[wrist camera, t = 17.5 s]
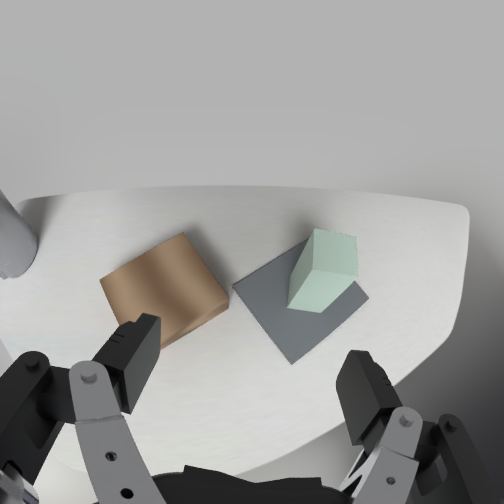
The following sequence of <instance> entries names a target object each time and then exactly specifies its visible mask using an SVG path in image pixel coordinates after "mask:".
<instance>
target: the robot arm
mask: <svg viewBox="0 0 504 504" xmlns="http://www.w3.org/2000/svg"><path fill="white" fill-rule="evenodd" d="M37 245H38V242H37V237H36V235H35V233H34V232H33V231H32V229H31V228H30V227H29V225H27V223H26V222H25V221H24V220H23V219H22V217H21V216H20V215H19V214H18V212H17V211H16V210H15V209H14V207H13V206H12V205H11V203H10V202H9V201H8V199H7V198H6V197H5V195H4V194H3V193H2V192H1V190H0V277H1V278H3V279H6V278H7V277H10V278H15V277H18V276H20V275H21V274H23V273H24V272H25V271H26V270H27V269H28V267H29V266H30V265H31V263H32V261H33V259H34V257H35V255H36V251H37ZM160 348H161V317H159V316H155V315H151V314H147V313H142V314H141V315H140V317H139V318H138V319H137V320H136V322H132V321H128V322H126V323H124V324H122V325H120V326H119V327H118V328H117V329H116V331H115V332H114V334H112V335H111V337H110V338H109V340H107V342H106V343H105V344H104V345H103V346H102V348H101V349H100V350H99V351H98V353H97V354H96V355H95V356H94V358H93V359H92V360H91V361H81V362H78V363H76V364H75V365H73V366H72V367H71V369H67V368H61V367H55V366H50V362H49V359H48V357H47V356H46V355H45V354H43V353H41V352H38V351H29V352H26V353H23V354H22V355H20V356H19V357H18V358H17V360H16V361H15V362H14V363H13V364H12V365H11V366H10V367H9V368H8V369H7V371H6V372H5V373H4V374H3V375H2V376H1V377H0V504H39V497H38V494H37V492H36V490H35V489H34V488H33V485H34V482H35V480H36V478H37V476H38V474H39V472H40V470H41V468H42V466H43V463H44V461H45V459H46V457H47V455H48V453H49V451H50V450H51V448H52V446H53V444H54V442H55V440H56V438H57V436H58V434H59V432H60V431H61V429H62V427H63V425H64V423H70V424H75V428H76V432H77V436H78V440H79V444H80V448H81V452H82V455H83V459H84V462H85V465H86V468H87V472H88V474H89V477H90V480H91V483H92V486H93V489H94V491H95V494H96V496H97V499H98V502H96V503H93V504H405V502H406V499H407V497H408V494H409V492H410V493H411V496H412V500H413V504H500V501H499V499H498V496H497V493H496V491H495V489H494V486H493V484H492V482H491V479H490V477H489V475H488V473H487V470H486V468H485V466H484V464H483V462H482V460H481V458H480V456H479V454H478V452H477V450H476V448H475V446H474V444H473V442H472V440H471V438H470V436H469V434H468V433H467V431H466V429H465V427H464V425H463V423H462V422H461V421H460V419H459V418H457V417H456V416H454V415H451V414H444V415H442V416H441V417H440V418H439V419H438V420H437V422H436V423H435V422H427V421H422V418H421V416H420V415H419V414H418V413H417V412H416V411H415V410H413V409H411V408H408V407H403V405H402V403H401V401H400V400H399V397H398V395H397V394H396V392H395V390H394V388H393V386H391V382H390V380H389V379H388V376H387V375H386V373H385V371H384V369H383V368H381V367H380V366H379V365H378V364H377V363H376V362H374V361H373V359H372V357H371V355H370V354H369V352H368V351H360V350H351V351H350V352H349V353H348V355H347V357H346V359H345V362H344V364H343V366H342V368H341V370H340V372H339V374H338V376H337V380H336V390H337V394H338V397H339V400H340V404H341V407H342V410H343V414H344V417H345V421H346V424H347V428H348V431H349V435H350V438H351V442H352V445H353V446H354V445H363V446H364V449H363V450H362V451H361V453H360V455H359V457H358V458H357V460H356V462H355V463H354V465H353V467H352V468H351V470H350V472H349V473H348V475H347V476H346V478H345V480H344V481H343V482H342V484H341V485H340V486H339V488H338V489H337V490H336V489H333V488H331V487H327V486H323V485H322V483H321V478H320V477H314V478H285V479H280V480H274V481H267V482H260V483H253V482H249V481H246V480H243V479H239V478H236V477H233V476H231V475H228V474H225V473H222V472H219V471H213V470H208V469H202V468H197V467H193V466H188V465H185V466H184V471H183V472H172V473H163V474H158V475H154V476H151V475H150V473H149V471H148V469H147V467H146V465H145V463H144V461H143V459H142V457H141V455H140V453H139V451H138V449H137V446H136V444H135V442H134V439H133V437H132V435H131V432H130V430H129V427H128V425H127V423H126V420H125V418H124V416H122V414H121V412H124V413H127V414H130V415H131V413H132V411H133V409H134V407H135V404H136V402H137V400H138V398H139V396H140V394H141V392H142V390H143V388H144V386H145V384H146V382H147V380H148V378H149V376H150V374H151V372H152V370H153V368H154V366H155V364H156V362H157V360H158V358H159V354H160ZM441 456H442V459H443V461H444V464H445V466H446V468H447V478H446V480H445V481H444V482H443V483H442V480H441V477H440V474H439V472H438V469H437V466H436V464H435V462H436V461H437V460H438V459H439V458H440V457H441Z"/></svg>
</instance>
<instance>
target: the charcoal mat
mask: <svg viewBox="0 0 504 504" xmlns="http://www.w3.org/2000/svg"><path fill="white" fill-rule="evenodd" d="M308 240H309V238H308V239H307V240H305V241H304V242H302V243H300V244H299V245H297V246H296V247H294V248H293V249H291V250H289V251H288V252H286V253H285V254H283V255H282V256H280V257H278V258H277V259H275V260H274V261H272V262H270V263H269V264H267V265H266V266H264V267H263V268H261V269H259V270H258V271H256V272H255V273H253V274H251V275H250V276H248V277H247V278H245V279H243V280H242V281H240V282H239V283H237V284H235V285H234V286H233V289H234V290H235V291H236V293H237V294H238V295H239V297H240V298H241V299H242V301H243V302H244V304H245V305H246V306H247V308H248V309H249V310H250V312H251V313H252V314H253V316H254V317H255V318H256V320H257V321H258V322H259V324H260V325H261V326H262V328H263V329H264V330H265V331H266V333H267V334H268V335H269V337H270V338H271V339H272V341H273V342H274V343H275V344H276V346H277V347H278V348H279V350H280V351H281V352H282V353H283V355H284V356H285V357H286V359H287V360H288V361H289V362H290V364H291V365H292V364H293V363H295V362H296V361H297V360H299V359H300V358H301V357H302V356H304V355H305V354H306V353H307V352H309V351H310V350H311V349H312V348H314V347H315V346H316V345H317V344H318V343H320V342H321V341H322V340H323V339H324V338H326V337H327V336H328V335H329V334H330V333H332V332H333V331H334V330H335V329H336V328H337V327H338V326H340V325H341V324H342V323H343V322H344V321H345V320H346V319H347V318H349V317H350V316H351V315H352V314H353V313H354V312H355V311H356V310H357V309H358V308H359V307H361V306H362V305H363V304H364V303H365V302H366V301H367V300H368V299H369V297H368V296H367V295H366V294H365V293H364V291H363V290H362V289H361V288H360V287H359V285H358V284H357V283H356V282H355V281H354V282H353V283H352V284H351V285H350V286H349V287H348V288H346V289H345V290H344V291H343V292H342V293H341V294H340V295H339V296H338V297H337V298H336V299H335V300H334V301H333V302H332V303H331V304H330V305H329V306H328V307H327V308H326V309H325V310H324V311H322V312H321V313H318V312H311V311H304V310H297V309H291V308H287V303H288V294H289V285H290V276H291V274H292V272H293V270H294V268H295V266H296V264H297V262H298V260H299V258H300V256H301V254H302V252H303V250H304V248H305V246H306V244H307V242H308Z"/></svg>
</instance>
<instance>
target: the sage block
mask: <svg viewBox="0 0 504 504" xmlns="http://www.w3.org/2000/svg"><path fill="white" fill-rule="evenodd" d="M357 278H358V260H357V240H356V236H351V235H347V234H342V233H337V232H332V231H327V230H323V229H318V228H314V229H313V232H312V234H311V236H310V238H309V240H308V242H307V244H306V246H305V248H304V250H303V252H302V254H301V256H300V258H299V260H298V262H297V264H296V266H295V268H294V270H293V272H292V274H291V276H290V285H289V294H288V303H287V308H291V309H297V310H304V311H311V312H318V313H321V312H322V311H324V310H325V309H326V308H327V307H328V306H329V305H330V304H331V303H332V302H333V301H334V300H335V299H336V298H337V297H338V296H339V295H340V294H341V293H342V292H343V291H344V290H345V289H346V288H348V287H349V286H350V285H351V284H352V283H353V282H354V281H355V280H356V279H357Z"/></svg>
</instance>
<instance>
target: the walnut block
mask: <svg viewBox="0 0 504 504" xmlns="http://www.w3.org/2000/svg"><path fill="white" fill-rule="evenodd" d="M100 283H101V285H102V288H103V290H104V293H105V295H106V297H107V300H108V302H109V304H110V306H111V308H112V311H113V313H114V315H115V317H116V319H117V321H118V323H119V325H122V324H124V323H126V322H128V321H132V322H136V320H137V319H138V318H139V317H140V315H141V314H142V313H147V314H151V315H155V316H159V317H161V348H160V350H161V349H163V348H165V347H167V346H168V345H170V344H172V343H173V342H175V341H176V340H178V339H180V338H181V337H183V336H185V335H186V334H188V333H190V332H191V331H193V330H195V329H196V328H198V327H199V326H201V325H203V324H204V323H206V322H208V321H209V320H211V319H212V318H214V317H216V316H217V315H219V314H220V313H222V312H223V311H225V310H227V309H228V300H229V297H228V296H227V295H226V293H225V292H224V290H223V289H222V288H221V286H220V285H219V283H218V282H217V280H216V279H215V278H214V276H213V275H212V273H211V272H210V270H209V269H208V268H207V266H206V265H205V263H204V262H203V260H202V259H201V257H200V256H199V255H198V253H197V252H196V250H195V249H194V247H193V246H192V244H191V243H190V241H189V240H188V238H187V237H186V235H185V234H184V232H182V233H181V234H179V235H177V236H175V237H173V238H171V239H170V240H168V241H166V242H164V243H162V244H161V245H159V246H157V247H155V248H153V249H152V250H150V251H148V252H146V253H144V254H143V255H141V256H139V257H137V258H136V259H134V260H132V261H130V262H129V263H127V264H125V265H124V266H122V267H120V268H118V269H117V270H115V271H113V272H112V273H110V274H108V275H107V276H105V277H103V278H102V279H100Z"/></svg>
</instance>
